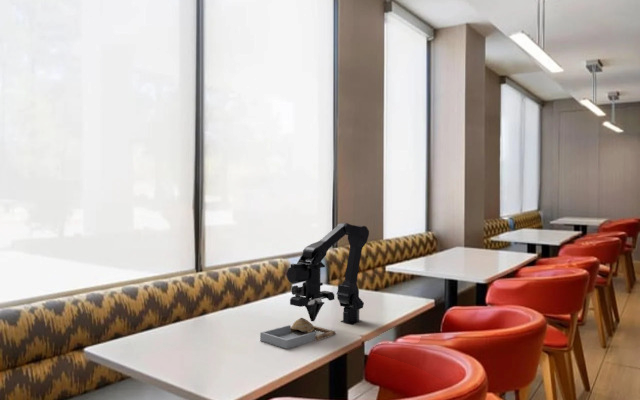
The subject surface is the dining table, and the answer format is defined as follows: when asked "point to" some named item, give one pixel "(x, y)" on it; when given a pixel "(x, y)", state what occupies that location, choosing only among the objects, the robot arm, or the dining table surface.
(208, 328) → the dining table surface
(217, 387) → the dining table surface
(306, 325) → the seashell
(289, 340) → the tray
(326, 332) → the cradle
